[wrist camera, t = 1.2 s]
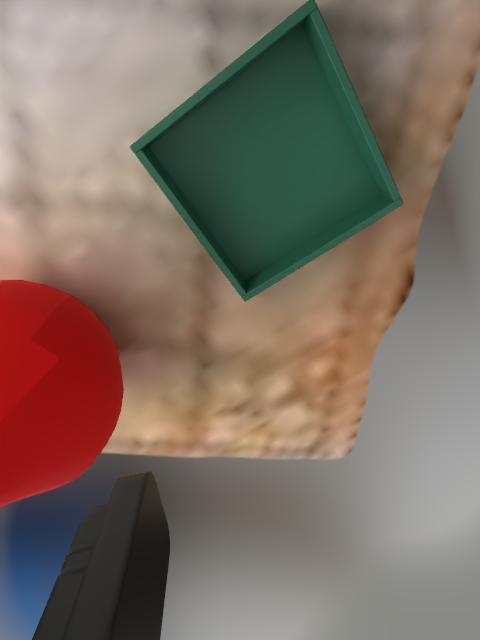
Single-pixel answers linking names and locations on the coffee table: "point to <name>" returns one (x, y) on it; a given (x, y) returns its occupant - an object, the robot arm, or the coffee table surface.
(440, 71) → the coffee table surface
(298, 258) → the tray
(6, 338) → the vase
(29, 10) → the coffee table surface
